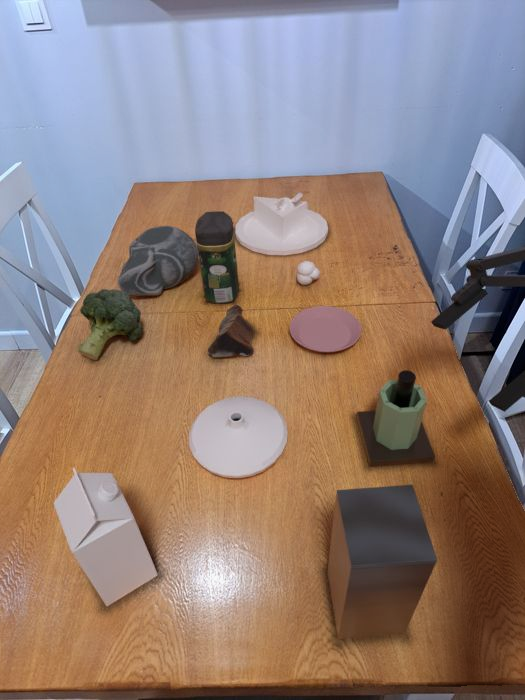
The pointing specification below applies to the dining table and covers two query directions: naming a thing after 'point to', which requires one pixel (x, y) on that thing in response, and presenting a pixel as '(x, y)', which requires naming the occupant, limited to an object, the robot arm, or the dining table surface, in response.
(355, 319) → the plate
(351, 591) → the stand
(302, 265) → the microfossil shell
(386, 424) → the green octagonal tube
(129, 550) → the milk carton
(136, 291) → the grey swirled rock
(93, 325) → the vegetable
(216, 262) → the coffee jar
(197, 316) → the dining table surface
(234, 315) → the stone
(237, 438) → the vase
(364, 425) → the peg stand
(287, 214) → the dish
